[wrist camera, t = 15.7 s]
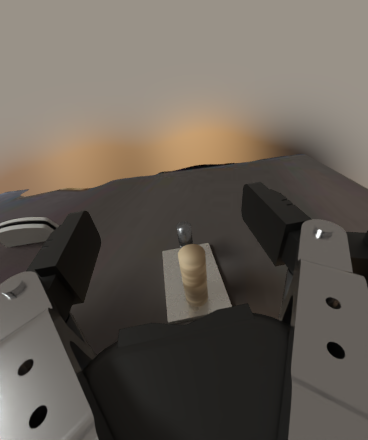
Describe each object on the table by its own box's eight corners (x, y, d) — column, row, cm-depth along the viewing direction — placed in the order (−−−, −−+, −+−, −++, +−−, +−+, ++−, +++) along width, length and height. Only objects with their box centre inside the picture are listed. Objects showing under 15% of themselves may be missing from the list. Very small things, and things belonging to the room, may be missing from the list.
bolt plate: (168, 324, 35) (157, 289, 28) (163, 254, 49) (154, 219, 43) (232, 311, 36) (235, 274, 29) (208, 245, 50) (206, 210, 44)
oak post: (187, 308, 36) (179, 266, 29) (184, 288, 39) (176, 246, 32) (210, 304, 36) (208, 261, 29) (205, 284, 40) (201, 241, 33)
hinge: (67, 228, 64) (47, 210, 55) (64, 240, 61) (43, 223, 53) (15, 236, 63) (-12, 219, 55) (10, 249, 60) (-19, 234, 52)
